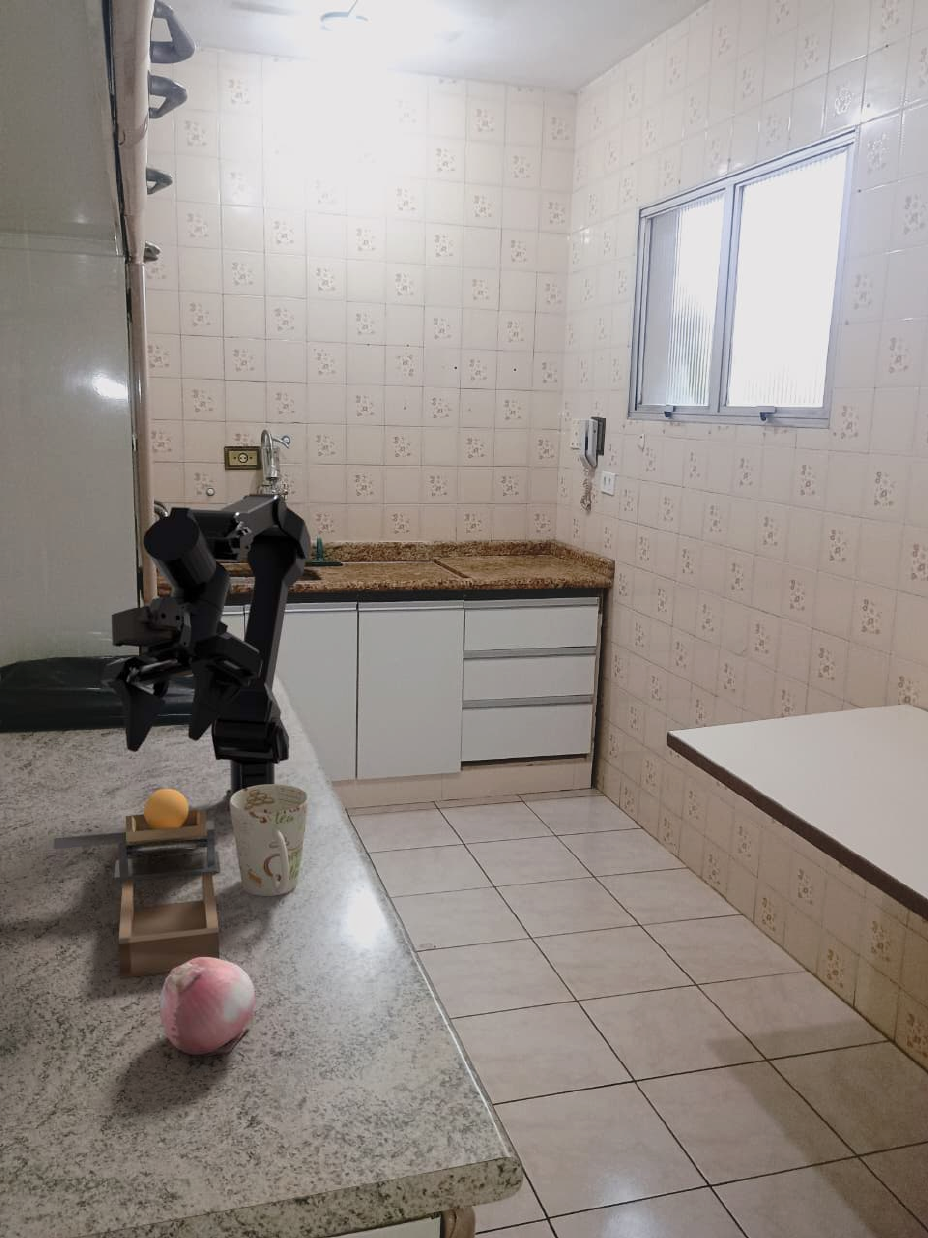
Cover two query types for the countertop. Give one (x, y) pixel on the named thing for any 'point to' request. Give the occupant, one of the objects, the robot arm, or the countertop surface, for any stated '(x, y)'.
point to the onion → (206, 1006)
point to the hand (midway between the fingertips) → (161, 745)
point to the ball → (166, 809)
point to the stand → (167, 859)
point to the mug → (269, 836)
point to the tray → (166, 932)
